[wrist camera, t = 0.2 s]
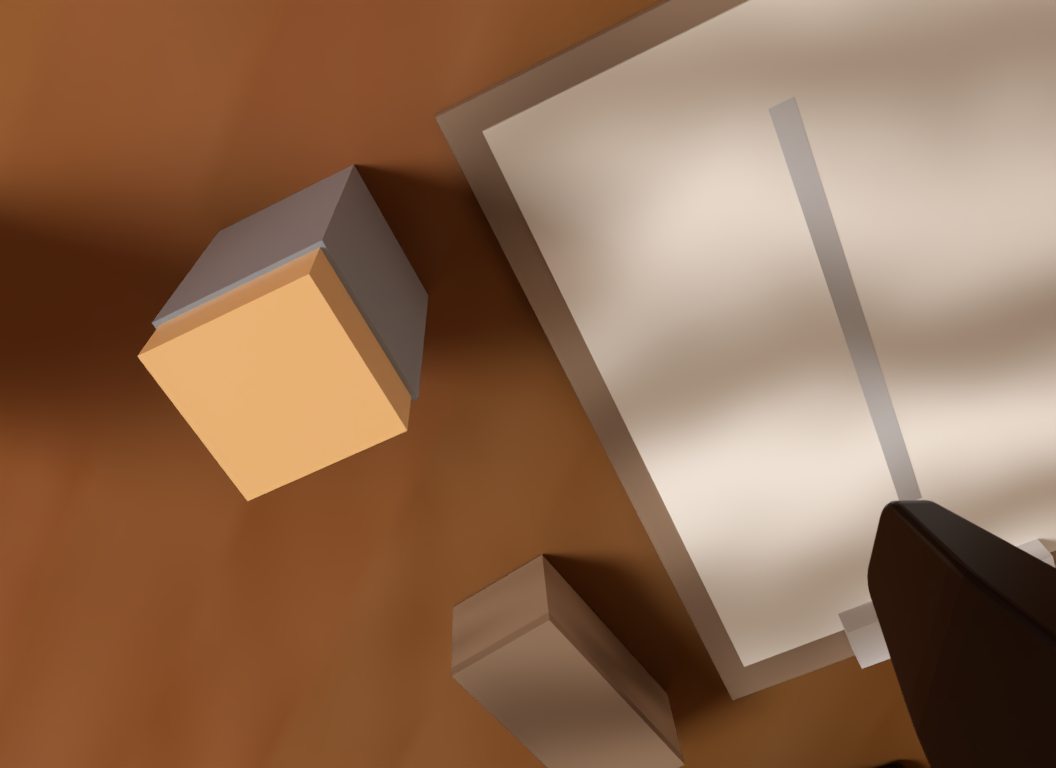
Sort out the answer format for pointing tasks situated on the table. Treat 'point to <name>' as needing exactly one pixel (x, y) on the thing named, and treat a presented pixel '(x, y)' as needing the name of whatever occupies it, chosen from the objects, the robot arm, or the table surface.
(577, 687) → the plain pale rectangular box
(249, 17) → the table surface
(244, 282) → the lidded cardboard box
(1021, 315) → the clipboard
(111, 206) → the table surface
